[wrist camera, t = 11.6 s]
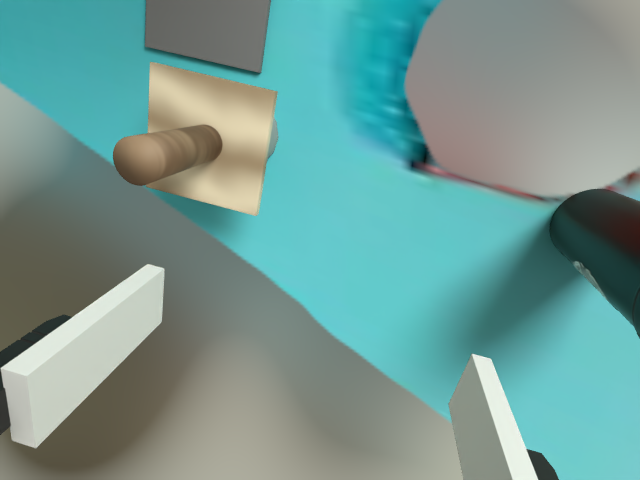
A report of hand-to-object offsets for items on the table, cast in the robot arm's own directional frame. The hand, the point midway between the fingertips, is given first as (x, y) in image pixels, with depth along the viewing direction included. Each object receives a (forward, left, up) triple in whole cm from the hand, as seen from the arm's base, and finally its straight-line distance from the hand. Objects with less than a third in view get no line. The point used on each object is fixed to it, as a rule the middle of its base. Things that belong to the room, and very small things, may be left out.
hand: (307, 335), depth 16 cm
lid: (-2, -15, -23) cm, 27 cm away
